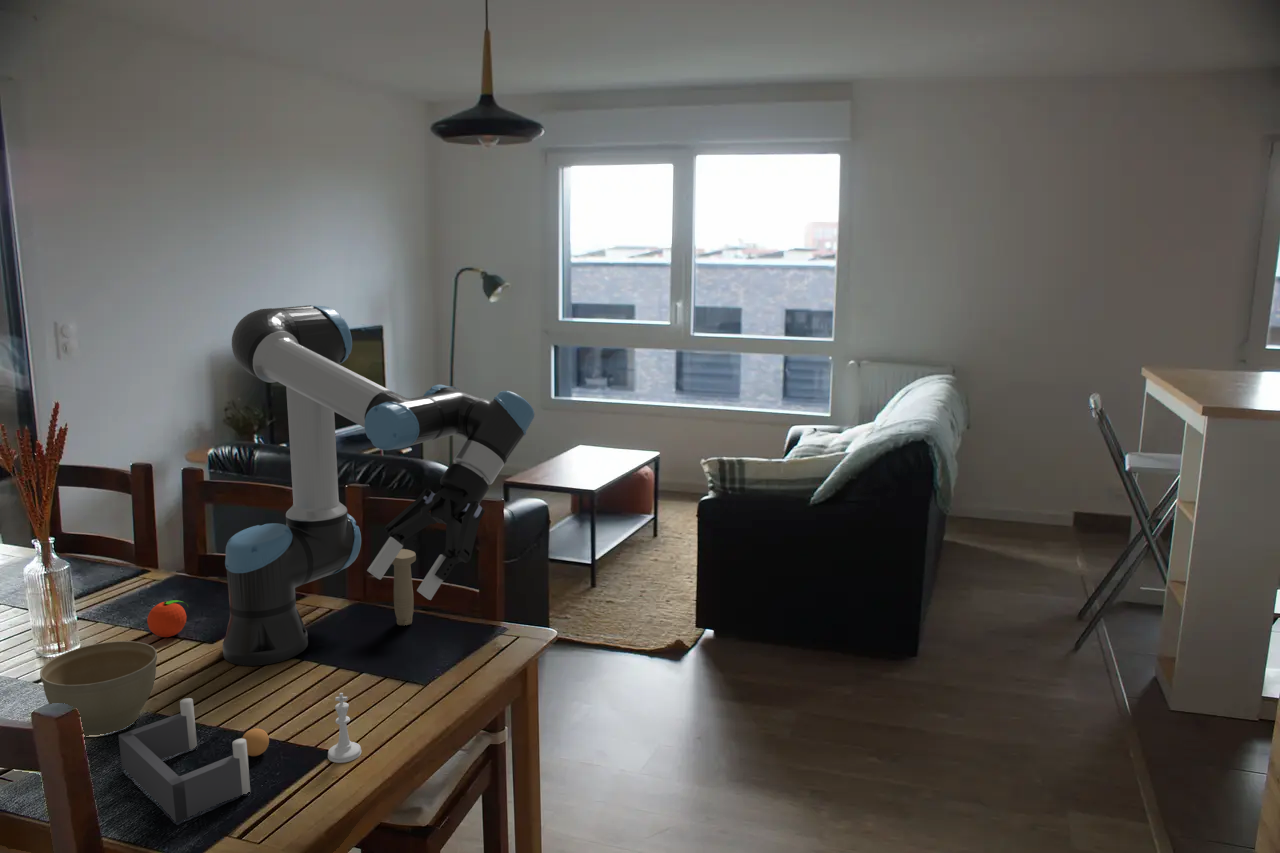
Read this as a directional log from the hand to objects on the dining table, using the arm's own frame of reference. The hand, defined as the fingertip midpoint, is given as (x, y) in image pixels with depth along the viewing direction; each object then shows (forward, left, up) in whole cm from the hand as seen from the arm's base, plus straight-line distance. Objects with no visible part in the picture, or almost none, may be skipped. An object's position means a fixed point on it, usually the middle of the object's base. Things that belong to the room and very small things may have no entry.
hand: (397, 585), depth 144 cm
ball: (-15, -17, -22) cm, 31 cm away
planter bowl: (-43, -21, -24) cm, 54 cm away
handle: (-28, +33, -24) cm, 49 cm away
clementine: (-65, +7, -24) cm, 70 cm away
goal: (-17, -26, -24) cm, 40 cm away
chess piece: (-3, -10, -24) cm, 27 cm away
